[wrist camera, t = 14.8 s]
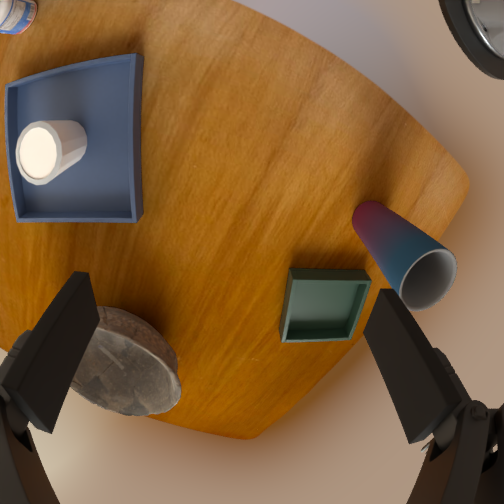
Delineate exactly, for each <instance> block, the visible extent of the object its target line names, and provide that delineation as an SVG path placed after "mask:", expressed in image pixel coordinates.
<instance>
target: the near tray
mask: <svg viewBox="0 0 504 504" xmlns="http://www.w3.org/2000/svg"><path fill="white" fill-rule="evenodd" d="M143 63H144V56H142V55H139V54H137V53H132V54H124V55H117V56H110V57H104V58H99V59H93V60H88V61H84V62H79V63H74V64H70V65H66V66H62V67H58V68H54V69H51V70H47V71H44V72H40V73H37V74H34V75H31V76H28V77H25V78H22V79H19V80H16V81H13V82H10V83H8V84H5V138H6V153H7V163H8V172H9V180H10V187H11V194H12V200H13V205H14V210H15V216H16V220H17V222H114V223H132V222H133V223H137V222H138V221H139V219H140V218H141V217H142V215H143V200H142V179H141V97H142V78H143ZM54 120H72V121H75V122H78V123H79V124H80V125H81V126H82V127H83V128H84V130H85V133H86V135H87V147H86V151H85V154H84V155H83V156H82V158H81V159H80V160H79V161H78V162H76V163H75V164H73V165H72V166H70V167H69V168H67V169H66V170H65V171H63V172H62V173H60V174H59V175H58V176H56V177H55V178H54V179H52V180H51V181H49V182H48V183H47V184H43V185H35V184H32V183H30V182H28V181H27V180H26V179H25V178H24V177H23V176H22V175H21V173H20V170H19V168H18V166H17V162H16V146H17V141H18V138H19V137H20V135H21V133H22V131H23V130H24V129H25V128H26V127H27V126H28V125H29V124H30V123H34V122H38V121H54Z"/></svg>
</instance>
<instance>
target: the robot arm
mask: <svg viewBox="0 0 504 504" xmlns="http://www.w3.org/2000/svg"><path fill="white" fill-rule="evenodd" d="M461 2H462V7H463V10H464V13H465V16H466V19H467V21H468V23H469V25H470V27H471V29H472V31H473V32H474V34H475V36H476V37H477V39H478V40H479V41H480V43H481V44H482V45H483V46H484V48H485V49H486V50H487V51H488V52H490V53H491V54H492V55H493V56H495V57H497V58H499V59H503V60H504V0H461ZM99 322H100V317H99V313H98V310H97V306H96V302H95V298H94V294H93V290H92V286H91V282H90V277H89V273H87V272H77V271H74V273H73V274H72V275H71V277H70V278H69V279H68V280H67V282H66V283H65V284H64V286H63V287H62V288H61V290H60V291H59V293H58V294H57V295H56V297H55V298H54V299H53V301H52V302H51V304H50V305H49V307H48V308H47V309H46V311H45V312H44V314H43V315H42V317H41V318H40V320H39V321H38V323H37V324H36V326H35V327H34V329H33V330H32V331H30V330H26V331H25V332H24V333H23V334H21V335H20V336H19V337H18V338H17V340H16V341H15V343H14V344H13V346H12V348H11V349H10V351H9V352H8V356H6V358H5V359H4V361H3V363H2V364H1V366H0V504H60V503H59V501H58V499H57V497H56V495H55V492H54V490H53V488H52V486H51V484H50V482H49V480H48V477H47V475H46V473H45V470H44V468H43V466H42V463H41V460H40V458H39V456H38V453H37V450H36V447H35V444H34V442H33V438H32V435H31V432H30V430H29V428H28V427H27V425H28V422H29V421H30V422H31V423H32V424H33V425H34V426H35V427H36V428H37V429H40V430H42V431H45V432H48V433H50V434H52V432H53V429H54V427H55V424H56V421H57V418H58V415H59V413H60V410H61V408H62V405H63V402H64V400H65V397H66V395H67V392H68V390H69V387H70V385H71V383H72V380H73V378H74V376H75V373H76V371H77V369H78V366H79V364H80V362H81V360H82V357H83V355H84V353H85V351H86V349H87V346H88V344H89V342H90V340H91V338H92V336H93V334H94V332H95V330H96V328H97V326H98V324H99ZM363 334H364V336H365V338H366V340H367V343H368V345H369V347H370V349H371V351H372V354H373V356H374V358H375V360H376V362H377V365H378V367H379V369H380V372H381V374H382V377H383V379H384V381H385V384H386V386H387V389H388V391H389V394H390V396H391V398H392V401H393V403H394V406H395V408H396V411H397V413H398V416H399V419H400V421H401V424H402V426H403V429H404V432H405V434H406V437H407V440H408V443H409V444H412V443H415V442H418V441H422V440H424V439H425V438H426V437H427V436H429V435H430V434H431V433H433V435H434V438H433V439H432V440H431V441H430V442H428V443H427V444H426V445H425V446H424V447H423V448H422V450H421V452H423V451H425V450H426V449H427V448H428V447H429V448H428V451H427V452H426V457H425V460H424V462H423V465H422V468H421V470H420V473H419V476H418V478H417V481H416V483H415V485H414V488H413V490H412V493H411V495H410V497H409V499H408V501H407V503H406V504H504V403H503V405H502V406H501V407H500V408H499V409H488V408H487V407H486V406H485V405H484V404H483V403H482V402H480V401H477V400H473V401H472V400H471V398H470V397H469V395H468V393H467V391H466V389H465V388H464V386H463V384H462V382H461V381H460V379H459V377H458V375H457V374H455V370H454V369H453V367H452V366H451V364H450V362H449V360H448V359H447V357H446V355H445V354H444V353H442V352H441V351H440V350H439V349H438V348H432V346H431V344H430V343H429V341H428V340H427V338H426V336H425V335H424V333H423V332H422V330H421V328H420V327H419V325H418V324H417V322H416V321H415V319H414V318H413V316H412V315H411V313H410V312H409V310H408V309H407V307H406V306H405V304H404V303H403V301H402V300H401V298H400V297H399V295H398V294H397V292H396V291H395V290H394V289H380V291H379V294H378V297H377V299H376V302H375V304H374V307H373V309H372V312H371V314H370V317H369V319H368V322H367V324H366V327H365V329H364V331H363ZM496 444H497V446H498V450H497V451H495V452H493V447H494V446H495V445H496Z"/></svg>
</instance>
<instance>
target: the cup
mask: <svg viewBox="0 0 504 504" xmlns="http://www.w3.org/2000/svg"><path fill="white" fill-rule="evenodd" d="M352 224H353V228H354V229H355V231H356V233H357V234H358V236H359V237H360V238H361V240H362V241H363V243H364V244H365V246H366V248H367V249H368V251H369V252H370V254H371V255H372V257H373V258H374V260H375V261H376V263H377V265H378V266H379V268H380V269H381V271H382V273H383V274H384V276H385V277H386V279H387V281H388V282H389V284H390V286H391V287H392V289H394V290H395V291H396V292H397V294H398V295H399V297H400V298H401V300H402V301H403V303H404V304H405V306H406V307H407V309H408V310H411V311H422V310H425V309H428V308H430V307H431V306H433V305H435V304H436V303H438V302H439V301H440V300H441V299H442V298H443V297H444V296H445V295H446V294H447V292H448V291H449V289H450V288H451V286H452V284H453V282H454V280H455V277H456V272H457V262H456V258H455V256H454V254H453V253H452V252H450V251H449V250H448V249H447V248H445V247H444V246H443V245H441V244H440V243H438V242H437V241H436V240H434V239H433V238H432V237H430V236H429V235H427V234H426V233H424V232H423V231H422V230H420V229H419V228H417V227H416V226H414V225H413V224H411V223H410V222H408V221H407V220H405V219H404V218H402V217H401V216H399V215H398V214H396V213H395V212H393V211H392V210H390V209H388V208H387V207H385V206H384V205H382V204H380V203H379V202H377V201H366V202H364V203H362V204H361V205H359V206H358V207H357V209H356V210H355V212H354V214H353V218H352Z"/></svg>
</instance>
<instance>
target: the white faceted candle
mask: <svg viewBox="0 0 504 504" xmlns="http://www.w3.org/2000/svg"><path fill="white" fill-rule="evenodd" d="M86 147H87V135H86V133H85V130H84V128H83V127H82V126H81V125H80V124H79V123H78V122H75V121H72V120H54V121H38V122H34V123H30V124H29V125H28V126H27V127H26V128H25V129H24V130H23V131H22V133H21V135H20V137H19V138H18V141H17V146H16V162H17V166H18V168H19V170H20V173H21V175H22V176H23V177H24V178H25V179H26V180H27V181H28V182H30V183H32V184H35V185H43V184H47V183H48V182H49V181H51V180H52V179H54V178H55V177H56V176H58V175H59V174H60V173H62V172H63V171H65V170H66V169H67V168H69V167H70V166H72V165H73V164H75V163H76V162H78V161H79V160H80V159H81V158H82V156H83V155H84V154H85V151H86Z"/></svg>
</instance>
